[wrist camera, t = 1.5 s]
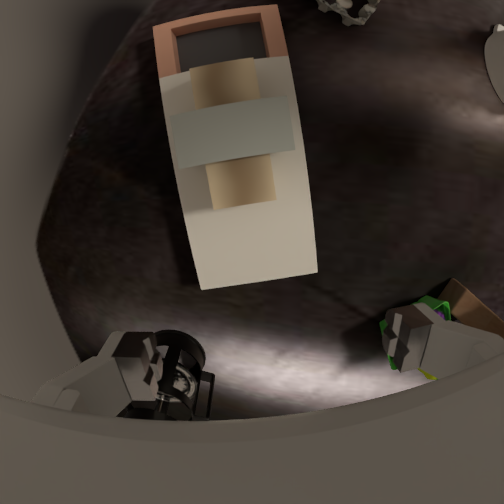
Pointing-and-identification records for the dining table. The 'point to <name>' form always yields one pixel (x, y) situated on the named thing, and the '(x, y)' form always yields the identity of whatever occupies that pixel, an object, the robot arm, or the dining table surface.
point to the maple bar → (240, 169)
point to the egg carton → (344, 4)
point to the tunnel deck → (251, 223)
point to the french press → (177, 379)
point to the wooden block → (470, 309)
